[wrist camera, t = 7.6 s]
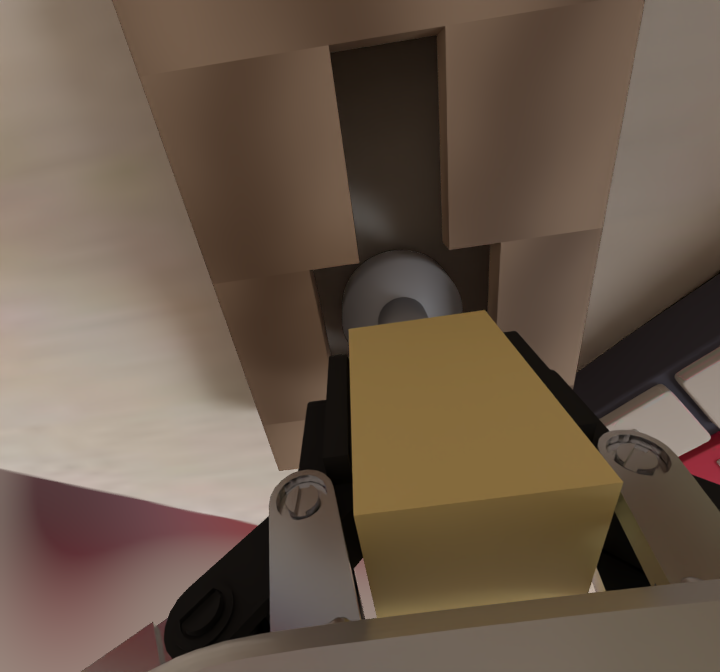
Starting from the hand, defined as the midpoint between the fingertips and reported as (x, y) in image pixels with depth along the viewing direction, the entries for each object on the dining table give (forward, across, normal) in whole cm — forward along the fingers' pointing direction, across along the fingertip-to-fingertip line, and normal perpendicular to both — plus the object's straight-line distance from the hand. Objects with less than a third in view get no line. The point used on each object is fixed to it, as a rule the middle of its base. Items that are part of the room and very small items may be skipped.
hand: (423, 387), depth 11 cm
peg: (+6, 0, 0) cm, 6 cm away
